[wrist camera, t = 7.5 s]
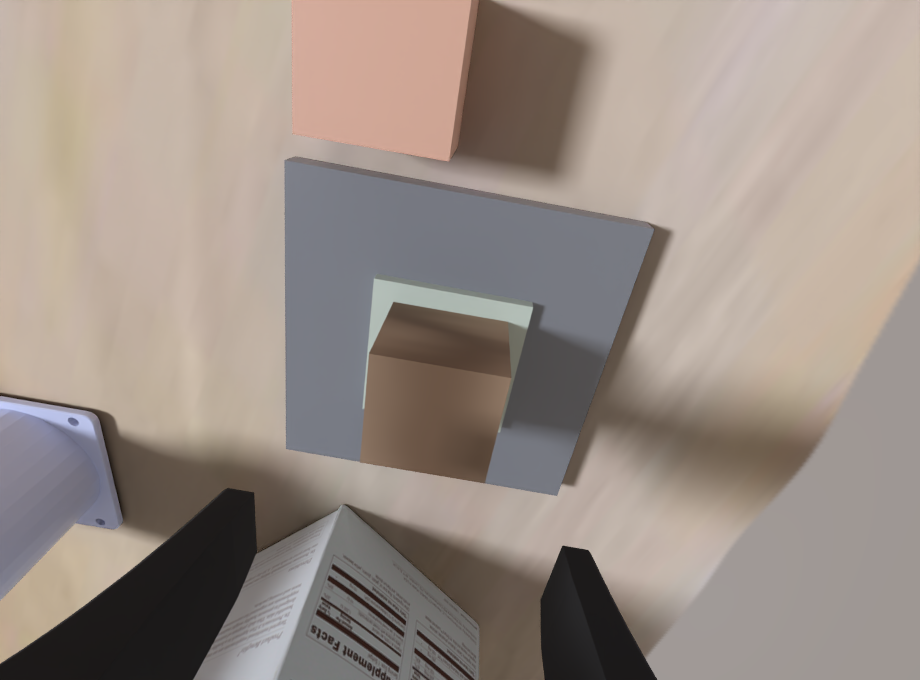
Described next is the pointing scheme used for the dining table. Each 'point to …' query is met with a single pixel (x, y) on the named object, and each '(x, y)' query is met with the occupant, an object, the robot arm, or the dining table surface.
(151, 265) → the dining table surface
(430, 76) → the terracotta block
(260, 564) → the supplement box
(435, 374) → the walnut block
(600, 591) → the robot arm
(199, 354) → the dining table surface
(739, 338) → the dining table surface
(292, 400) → the slate baseplate
